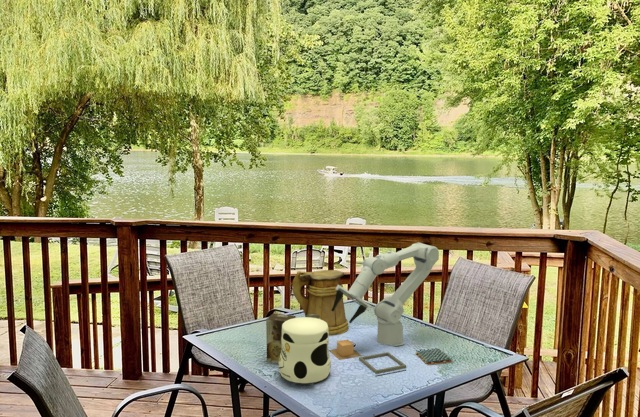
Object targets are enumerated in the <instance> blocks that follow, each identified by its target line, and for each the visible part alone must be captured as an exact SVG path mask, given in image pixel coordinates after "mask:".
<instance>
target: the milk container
mask: <svg viewBox="0 0 640 417" xmlns="http://www.w3.org/2000/svg"><path fill="white" fill-rule="evenodd" d="M328 335H329V331H328V325H327V323H326V322H325V321H323V320H320V319H317V318H311V317H305V316H304V317H303V316H302V317H296V318H293V319H289V320H287V321H285V322H284V323H283V324H282V337H281V343H282V349H281V354H280V358H279V364H278V371H279V374H280V376H281V377H282V378H283V379H284V380H285V381H288V382H289V383H291V384H296V385H307V386H308V385H314V384H317V383H320V382H323V380H325V379H327V378H328V377H329V375H330V372H331V368H332V360H331V356H330V351H329V337H330V336H328Z"/></svg>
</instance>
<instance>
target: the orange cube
mask: <svg viewBox="0 0 640 417" xmlns="http://www.w3.org/2000/svg"><path fill="white" fill-rule="evenodd" d="M354 346H355V345H354V343H353V342H352V341H350V340H349V339H343V340H337V341H336V349H337V352H338V353H339V354H340V355H341V356H348V355H353V350H355V349H354V348H355V347H354Z"/></svg>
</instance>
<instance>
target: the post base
mask: <svg viewBox="0 0 640 417" xmlns="http://www.w3.org/2000/svg"><path fill="white" fill-rule="evenodd" d="M328 351H329V353H331V354H332V355H334V357H335V358H337V359H338V360H339V361H342V360H346V359H352V358H353V359H354V358H359V357H362V355H361V354H360V353H359V352H357V350H355V349H354V350H353V355H348V356H341V355H340V354H339V353H338V352H337V348H334V349H328Z"/></svg>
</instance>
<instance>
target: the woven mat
mask: <svg viewBox="0 0 640 417" xmlns="http://www.w3.org/2000/svg"><path fill="white" fill-rule="evenodd" d="M415 351H416V352H415V353H414V355H415V356H417V358H420V361H422V362H424V364H426V365H427V366H433V365H441V364H451V363H453V359H452V358H451V357H450V355H448V354H446V353H445V352H444V351H442V350H441V349H440V348H436V347H434V348H431V349H429V348H427V349H423V350H422V349H419V350H418V349H415Z"/></svg>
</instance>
